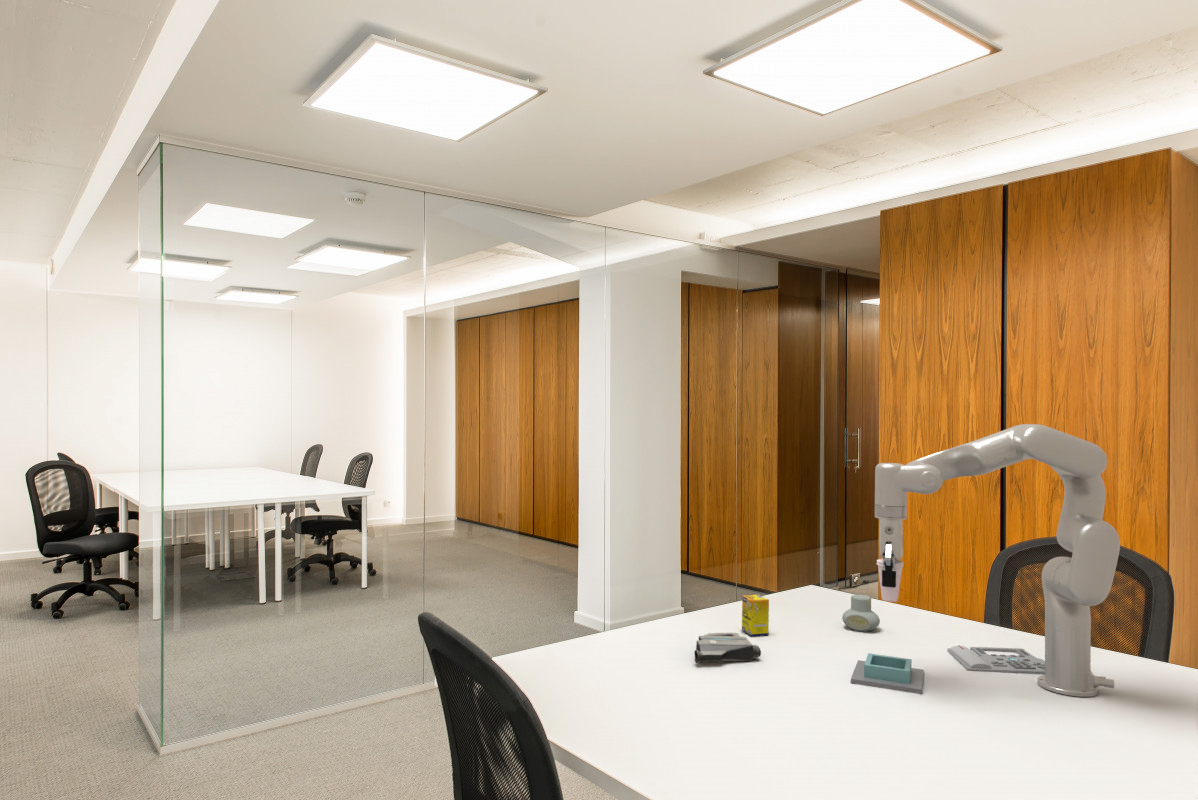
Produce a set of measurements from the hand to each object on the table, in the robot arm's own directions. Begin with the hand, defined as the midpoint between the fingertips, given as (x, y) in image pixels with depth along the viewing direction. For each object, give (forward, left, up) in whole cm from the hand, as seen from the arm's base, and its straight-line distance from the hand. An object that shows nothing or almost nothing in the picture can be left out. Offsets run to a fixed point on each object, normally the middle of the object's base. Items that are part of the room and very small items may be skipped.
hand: (889, 583), depth 190 cm
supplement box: (+39, -23, -24) cm, 51 cm away
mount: (0, 0, -24) cm, 24 cm away
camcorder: (+42, +2, -24) cm, 49 cm away
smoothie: (0, 0, -4) cm, 4 cm away
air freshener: (+11, -44, -24) cm, 51 cm away
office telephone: (-26, -29, -24) cm, 46 cm away
